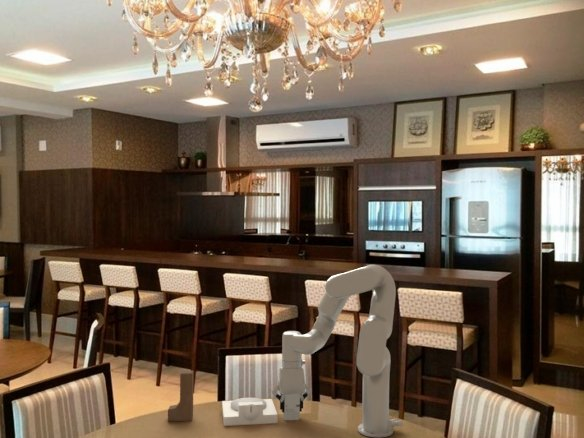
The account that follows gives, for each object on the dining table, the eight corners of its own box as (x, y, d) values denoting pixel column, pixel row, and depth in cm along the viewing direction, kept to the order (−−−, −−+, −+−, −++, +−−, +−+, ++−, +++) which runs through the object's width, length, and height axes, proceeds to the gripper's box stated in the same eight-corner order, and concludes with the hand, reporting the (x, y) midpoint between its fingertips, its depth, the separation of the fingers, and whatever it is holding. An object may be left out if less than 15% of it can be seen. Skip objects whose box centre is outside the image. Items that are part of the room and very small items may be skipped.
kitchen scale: (271, 406, 221) (271, 388, 221) (277, 423, 203) (277, 403, 203) (222, 409, 218) (222, 390, 218) (223, 426, 199) (223, 405, 199)
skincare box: (284, 420, 205) (284, 388, 205) (282, 416, 210) (283, 385, 210) (300, 420, 206) (300, 388, 206) (298, 416, 211) (298, 384, 211)
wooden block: (167, 421, 204) (168, 373, 204) (169, 417, 208) (170, 370, 208) (191, 421, 204) (192, 373, 204) (193, 417, 209) (193, 370, 209)
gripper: (312, 360, 213) (311, 406, 213) (268, 362, 210) (268, 408, 210) (315, 365, 206) (315, 413, 206) (270, 367, 203) (270, 415, 203)
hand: (291, 410), depth 208 cm, fingers closed on skincare box, 6 cm apart
